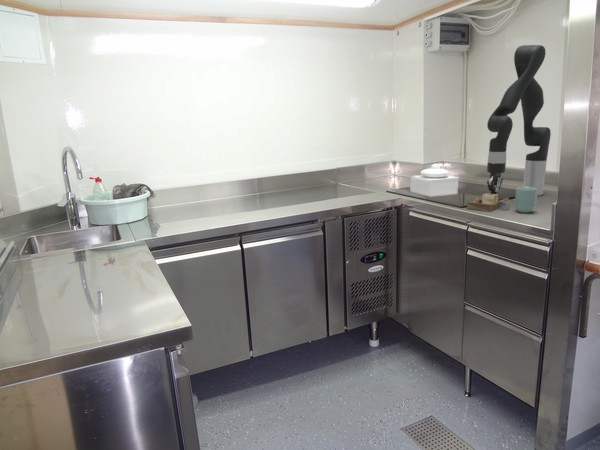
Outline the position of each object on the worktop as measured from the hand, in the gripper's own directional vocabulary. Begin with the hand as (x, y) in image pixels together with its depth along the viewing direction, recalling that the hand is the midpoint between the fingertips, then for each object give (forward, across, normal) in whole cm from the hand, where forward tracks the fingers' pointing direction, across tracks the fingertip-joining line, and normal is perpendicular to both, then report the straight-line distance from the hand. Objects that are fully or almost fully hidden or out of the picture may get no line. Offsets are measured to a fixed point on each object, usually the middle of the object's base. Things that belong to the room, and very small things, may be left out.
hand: (493, 199), depth 197 cm
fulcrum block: (+2, +8, +8) cm, 12 cm away
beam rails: (+2, +6, 0) cm, 6 cm away
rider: (+2, +5, 0) cm, 5 cm away
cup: (+2, +8, +16) cm, 18 cm away
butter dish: (+2, -12, -36) cm, 38 cm away
